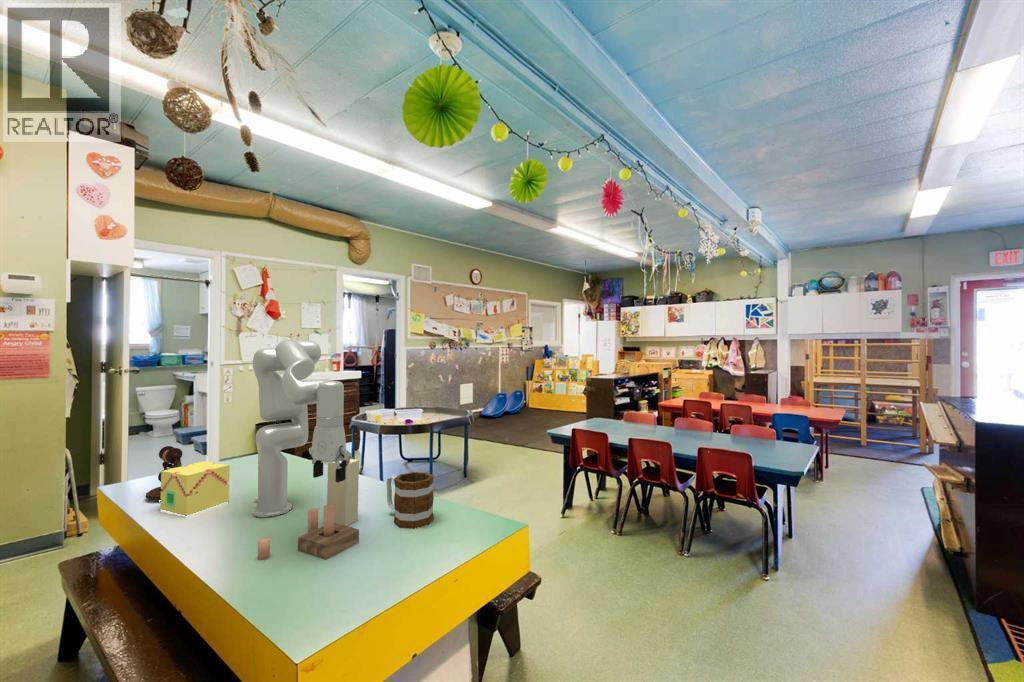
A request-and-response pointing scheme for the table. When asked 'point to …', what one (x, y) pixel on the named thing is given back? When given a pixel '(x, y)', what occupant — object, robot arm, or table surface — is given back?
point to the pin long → (329, 520)
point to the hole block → (328, 541)
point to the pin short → (263, 548)
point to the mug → (411, 499)
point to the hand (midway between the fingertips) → (329, 478)
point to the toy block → (194, 487)
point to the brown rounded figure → (168, 456)
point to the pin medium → (312, 519)
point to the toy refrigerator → (344, 493)
